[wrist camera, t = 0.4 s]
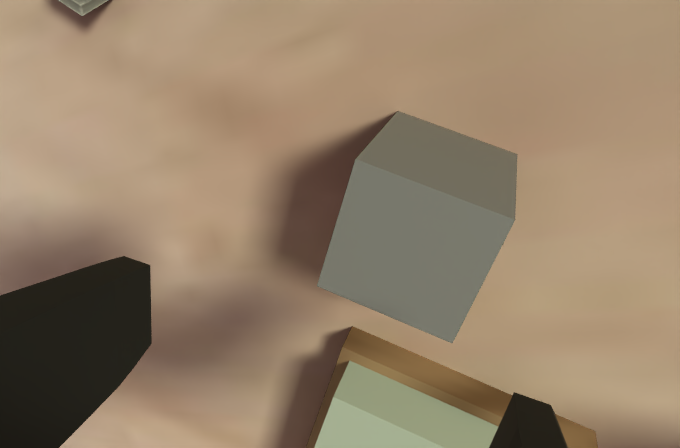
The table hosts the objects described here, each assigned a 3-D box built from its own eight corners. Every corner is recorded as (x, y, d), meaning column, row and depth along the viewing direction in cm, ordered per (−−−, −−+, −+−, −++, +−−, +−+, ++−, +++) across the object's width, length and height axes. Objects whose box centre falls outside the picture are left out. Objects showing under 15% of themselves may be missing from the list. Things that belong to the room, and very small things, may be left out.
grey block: (517, 153, 16) (515, 219, 12) (469, 255, 18) (452, 343, 14) (397, 110, 17) (355, 159, 13) (363, 214, 19) (316, 286, 15)
